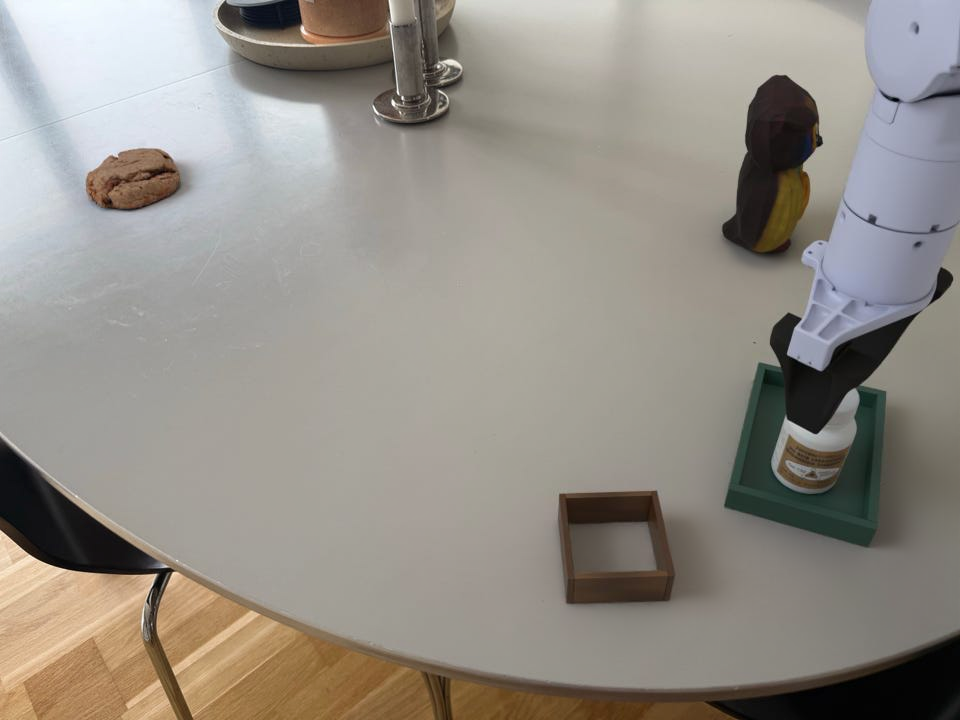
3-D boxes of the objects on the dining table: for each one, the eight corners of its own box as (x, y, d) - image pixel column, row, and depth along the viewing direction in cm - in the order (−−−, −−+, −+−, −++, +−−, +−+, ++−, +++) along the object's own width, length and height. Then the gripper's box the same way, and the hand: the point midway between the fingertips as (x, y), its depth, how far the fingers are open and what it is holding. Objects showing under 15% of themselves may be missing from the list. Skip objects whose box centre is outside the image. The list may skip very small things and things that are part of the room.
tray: (868, 548, 53) (877, 529, 51) (723, 506, 55) (728, 488, 54) (878, 409, 62) (886, 390, 60) (753, 380, 64) (758, 361, 63)
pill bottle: (773, 492, 56) (799, 414, 50) (767, 444, 59) (791, 366, 54) (841, 500, 55) (874, 421, 50) (831, 451, 58) (862, 372, 53)
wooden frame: (652, 516, 55) (657, 490, 53) (669, 601, 50) (675, 575, 49) (557, 519, 55) (559, 493, 53) (566, 603, 51) (567, 578, 49)
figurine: (795, 276, 74) (838, 122, 64) (716, 266, 75) (746, 113, 65) (795, 218, 81) (835, 71, 71) (723, 210, 82) (751, 64, 72)
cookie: (184, 157, 95) (177, 133, 92) (180, 204, 87) (172, 179, 85) (95, 169, 93) (85, 145, 91) (83, 218, 85) (72, 193, 83)
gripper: (887, 130, 48) (829, 310, 57) (758, 234, 41) (715, 421, 50) (1015, 169, 44) (930, 355, 53) (898, 291, 37) (823, 483, 46)
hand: (833, 391), depth 51 cm, fingers open, 7 cm apart
